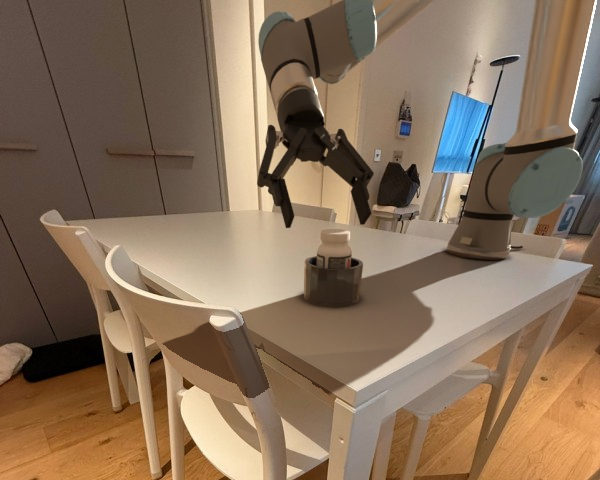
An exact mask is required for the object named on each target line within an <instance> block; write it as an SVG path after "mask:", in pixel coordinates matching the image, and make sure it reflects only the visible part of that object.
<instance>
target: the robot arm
mask: <svg viewBox="0 0 600 480" xmlns="http://www.w3.org/2000/svg"><path fill="white" fill-rule="evenodd" d="M435 1H436V0H340V1H338V2H336V3H334V4H332V5H329V6H328V7H325V8H324V9H322V10H320V11H317V12H316V13H313V14H311V15H309V16H307V17H305V18H301V19H299V20H297V21H296V20H295V18H294V17H293V16H292V15H291V14H290V13H288V12H284V11H280V10H277V11H274V12H272V13H270V14H269V15H268V16H267V17H266V18H265V19H264V21H263V22H262V24H261V26H260V30H259V32H258V39H257V41H258V50H259V53H260V61H261V65H262V67H263V72H264V76H265V79H266V82H267V86H268V89H269V92H270V97H271V100H272V104H273V107H274V111H275V115H276V119H277V122H278V125H279V126H278V127H279V130H280V131H279V130H276V126H274V124H269V125H267V130H266V136H265V150H264V153H263V156H262V159H261V163H260V167H259V170H258V175H257V180H256V185H257V187H259V188H264V187H267V192H268V194H269V195H271V197H272V201H273V204H274V205H275V207H280V211H281V215H282V219H283V222H284V226H285V229H291V227H292V224H293V222H294V219H295V213H294V210H293V205H292V201H291V198H290V194H289V190H288V185H287V182H286V179H285V176H286V175H287V173H288V171H289V170H290V169H291V167H292V166H293V165H294V163H295V162H296V161H297V160H299V161H300V162H301V163H303V162H304V163H305V162H306V163H307V162H312V163H313V162H314V163H320V164H321V165H323V166H324V167H328V168H329V169H331V170H332V171H333V172H334V173H335V174H336V175H337V176H339V177H340V178H341V179H342V180H343V181H345V183H347V184H348V185H349V186H350V187H351V189H350V195H351V198H352V201H353V204H354V207H355V211H356V215H357V218H358V222H359V225H360V226H361V225H362V226H363V225H365V224H366V223H367V221H368V220H369V218H370V216H371V215H372V211H371V207H370V203H369V200H370V193H369V190H368V186H369V184H370V182H371V180H372V179H373V177H374V175H375V173H374V171H373V170H372V168H371V167H370V166H369V165H368V163H367V162H366V161H365V160H364V159H363V157H362V156H361V155H360V153H359V152H358V151H357V149H356V148H355V147H354V146H353V144H352V143H351V142H350V141H349V139H348V137H347V134H346V132H345V130H344V129H342V128H338V129H337V132H336V133H330V132H329V130H327V128H326V125H325V124H326V122H325V116H324V112H323V108H322V106H321V105H322V104H321V102H320V99H319V94H318V91H317V87H316V85H315V81H314V80H315V79H319V80H320V81H321V82H322V83H324V84H326V85H335V84H338V83H339V82H341V81H342V80H343V79H344V78H345V77H346V75H347V74H348V73H349V72H350V71H351V70H352V69H354V68H355V67H356V66H357V65H359V64H360V63H361V62H363V60H364V59H366V58H367V57H368V56H370V55H372V54H373V53H374V51H376V50H377V49H378V48H379V47H381V46H382V45H383V44H384V43H385V42H386V41H388V40H389V39H390V38H392V36H394V35H395V34H396V33H397V32H399V31H400V30H401V29H403V27H405V26H406V25H407V24H408V23H409V22H411V21H412V20H414V18H416V17H417V16H418V15H420V14H421V13H422V12H423V11H424V10H425V9H427V8H428V7H429V6H430V5H432V4H433V3H434V2H435ZM597 1H598V0H534V5H533V6H534V7H533V13H532V20H531V27H530V34H529V41H528V47H527V54H526V60H525V68H524V75H523V79H522V80H523V82H522V88H521V93H520V94H521V95H520V103H519V108H518V114H517V120H516V128H515V131H514V134H513V135H512V136H511V137H510V139H508V141H506V142H504V143H503V142H502V143H496V144H491V145H488V146H486V147H484V148H483V149H482V150H481V151H480V152H479V154H478V158H477V160H476V163H475V164H474V169H473V174H472V177H471V181H470V186H469V189H468V194H467V198H466V201H465V205H464V209H463V213H462V216H461V220H460V221H459V223H458V225H457V226H456V228H455V230H454V232H453V234H452V236H451V237H450V239H449V240H448V242H447V245H446V252H447V253H449V254H451V255H454V256H457V257H461V258H467V259H473V260H474V259H475V260H485V261H486V260H487V261H495V260H496V261H497V260H505V259H508V257H509V255H510V252H511V249H513V250H515V249H516V250H518V249H523V248H524V246H523V245H511V240H512V239H511V238H512V224H513V223H512V222H513V219H514V217H516V218H521V219H527V218H528V219H536V218H541V217H544V216H548V215H549V214H551V213H553V212H555V211H556V210H557V209H559V208H560V207H561V206H562V205H563V204H564V203H565V202H566V201H568V199H570V197H572V195H573V193H574V192H575V190H576V189H577V188H578V185H579V183H580V180H581V177H582V174H583V167H584V165H583V159H582V157H581V156H580V154H579V152H578V151H577V150H575V145H576V140H577V136H578V129H577V128H576V127H575V126H574V124H573V123H572V120H571V119H572V114H573V111H574V106H575V103H576V102H575V101H576V97H577V93H578V87H579V83H580V79H581V74H582V69H583V65H584V60H585V56H586V51H587V46H588V43H589V37H590V34H591V29H592V24H593V19H594V15H595V10H596V5H597ZM280 144H282V145H283V146H284V147H285V148H286V151H285V153H284V155H283V156H282V157H281V159H280V160H279V162H278V163H277V165H276V166H275V167H274V169H273V171H272V172H271V173H270V172H269V170H270V167H271V164H272V160H273V157H274V153H275V150H276V149H277V147H279V146H280ZM326 151H327V153H326ZM325 153H326V156H325V155H324V154H325Z"/></svg>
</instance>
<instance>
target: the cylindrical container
mask: <svg viewBox="0 0 600 480" xmlns="http://www.w3.org/2000/svg"><path fill="white" fill-rule="evenodd" d="M363 269H364V262H363V261H362V260H360V259H358V258H355V257H352V256H351V267H350V268H340V269H335V268H323V267H318V266H317V255H314V256H311V257H308V258H306V259H305V260H304V275H303V298H304V300H305V301H306V302H308V303H310V304H312V305H315V306H319V307H325V308H343V307H348V306H353V305H355V304H356V303H358V302H359V300H360V294H361V293H360V292H361V286H362V276H363Z"/></svg>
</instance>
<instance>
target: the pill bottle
mask: <svg viewBox="0 0 600 480" xmlns="http://www.w3.org/2000/svg"><path fill="white" fill-rule="evenodd" d="M320 240H321V244H320V245H319V246H318V248H317V250H316V256H317V266H318V267H323V268H335V269H340V268H350V267H351V257H352V253H353V250H352V248H351V246H349V241H350V240H351V231H349V230H347V229H341V228H326V229H322V230H320Z"/></svg>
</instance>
